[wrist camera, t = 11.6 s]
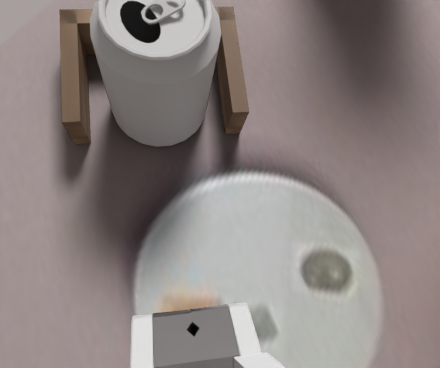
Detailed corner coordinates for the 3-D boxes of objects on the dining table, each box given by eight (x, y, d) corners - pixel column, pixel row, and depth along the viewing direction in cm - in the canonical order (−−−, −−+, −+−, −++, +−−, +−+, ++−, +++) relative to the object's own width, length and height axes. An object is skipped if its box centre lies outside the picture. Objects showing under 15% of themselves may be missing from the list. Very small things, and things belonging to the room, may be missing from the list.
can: (95, 92, 33) (56, -19, 22) (174, 52, 35) (177, -69, 24) (143, 167, 32) (130, 92, 20) (223, 122, 34) (252, 29, 22)
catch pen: (226, 37, 36) (233, 6, 32) (239, 133, 34) (249, 111, 30) (71, 42, 34) (59, 9, 30) (74, 144, 32) (61, 122, 28)
